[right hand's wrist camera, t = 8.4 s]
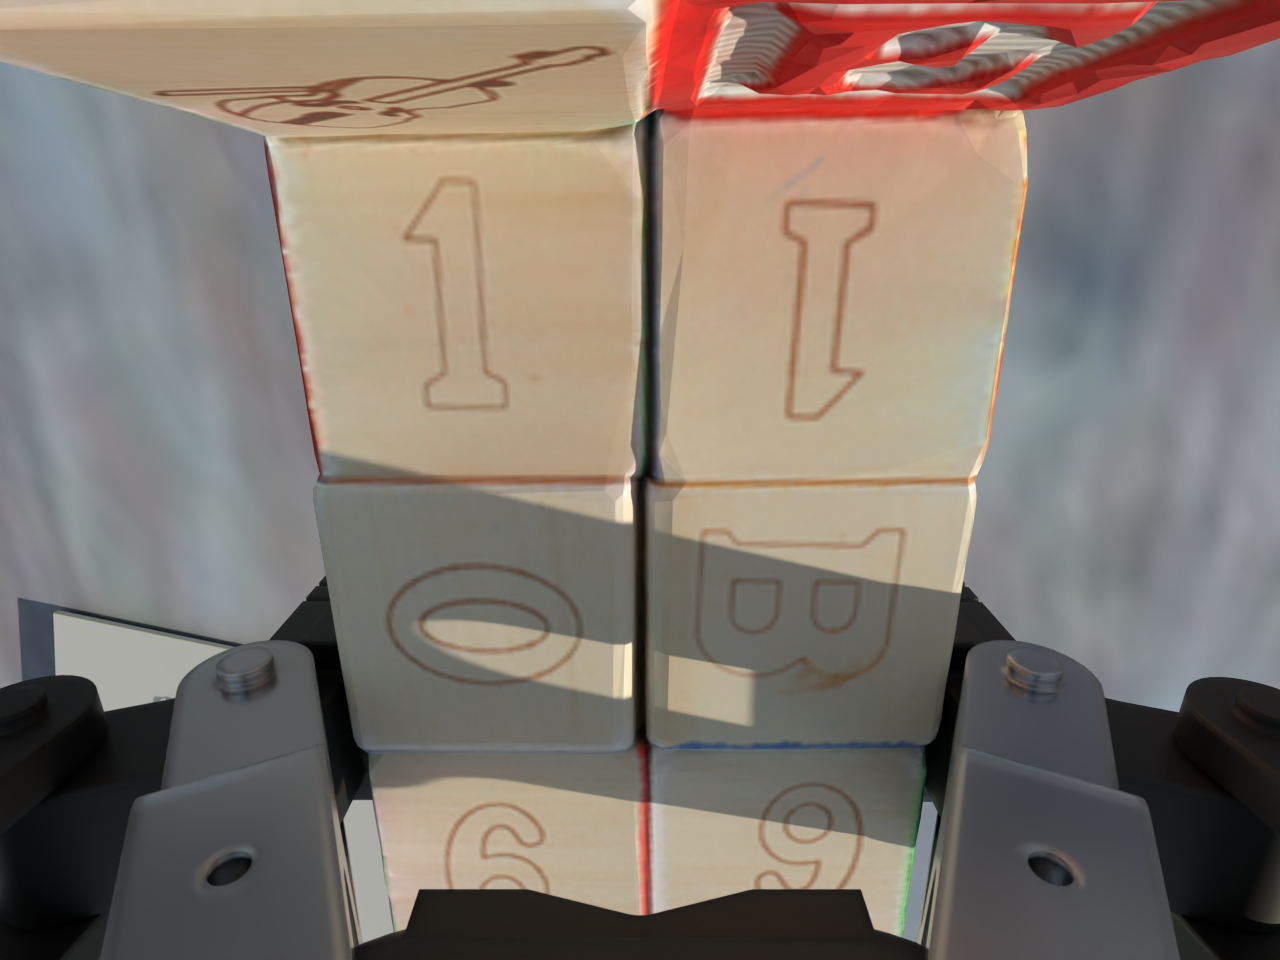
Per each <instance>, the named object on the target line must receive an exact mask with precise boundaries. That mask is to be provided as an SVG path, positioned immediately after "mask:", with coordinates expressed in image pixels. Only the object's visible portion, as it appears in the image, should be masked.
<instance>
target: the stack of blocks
mask: <svg viewBox="0 0 1280 960" xmlns="http://www.w3.org/2000/svg"><path fill="white" fill-rule="evenodd" d="M1279 38H1280V0H0V61H1V62H5V63H8V64H12V65H15V66H19V67H22V68H26V69H29V70H33V71H36V72H40V73H43V74H47V75H50V76H54V77H58V78H61V79H65V80H68V81H72V82H76V83H79V84H83V85H87V86H90V87H94V88H98V89H101V90H105V91H109V92H112V93H116V94H120V95H123V96H127V97H131V98H135V99H138V100H142V101H146V102H149V103H153V104H157V105H160V106H164V107H168V108H171V109H175V110H179V111H182V112H186V113H189V114H193V115H196V116H199V117H203V118H206V119H210V120H213V121H217V122H220V123H223V124H227V125H230V126H234V127H237V128H240V129H244V130H247V131H250V132H253V133H257V134H260V135H263V137H264V146H265V154H266V161H267V168H268V175H269V181H270V187H271V193H272V198H273V204H274V210H275V216H276V222H277V228H278V234H279V240H280V246H281V252H282V258H283V264H284V270H285V276H286V282H287V288H288V294H289V300H290V306H291V312H292V318H293V324H294V330H295V336H296V342H297V348H298V354H299V360H300V366H301V372H302V378H303V385H304V391H305V397H306V404H307V410H308V416H309V422H310V428H311V434H312V440H313V446H314V452H315V456H316V460H317V464H318V468H319V472H320V475H319V477H318V479H317V481H316V483H315V486H314V488H313V501H314V507H315V513H316V519H317V525H318V531H319V537H320V543H321V549H322V555H323V561H324V567H325V573H326V579H327V585H328V591H329V597H330V603H331V609H332V615H333V621H334V627H335V633H336V638H337V644H338V650H339V656H340V662H341V668H342V673H343V679H344V685H345V691H346V697H347V703H348V709H349V714H350V720H351V726H352V732H353V738H354V740H355V742H356V744H357V746H359V747H360V748H361V749H363V750H364V751H365V752H367V753H368V755H369V777H370V786H371V795H372V801H373V808H374V814H375V821H376V827H377V832H378V837H379V842H380V848H381V855H382V863H383V871H384V879H385V884H386V888H387V891H388V895H389V907H390V913H391V919H392V925H393V931H394V932H397V931H401V930H404V929H406V927H407V924H408V921H409V918H410V915H411V912H412V909H413V906H414V903H415V900H416V897H417V894H418V891H419V889H529V890H533V891H537V892H541V893H545V894H549V895H553V896H557V897H561V898H565V899H569V900H573V901H578V902H582V903H586V904H590V905H594V906H598V907H602V908H606V909H610V910H614V911H618V912H622V913H626V914H632V915H648V914H654V913H658V912H662V911H666V910H670V909H674V908H678V907H682V906H686V905H690V904H694V903H698V902H702V901H707V900H711V899H715V898H719V897H723V896H727V895H731V894H735V893H739V892H743V891H747V890H751V889H861V891H862V894H863V897H864V900H865V903H866V906H867V909H868V912H869V915H870V918H871V921H872V924H873V927H874V929H876V930H880V931H883V932H887V933H890V934H893V935H896V936H899V937H902V934H903V932H904V921H905V912H906V905H907V899H908V893H909V886H910V880H911V873H912V866H913V859H914V852H915V845H916V839H917V834H918V829H919V824H920V818H921V811H922V804H923V795H924V783H925V778H926V773H927V769H926V758H925V747H924V745H927V744H929V743H930V742H932V741H933V740H934V739H935V738H936V736H937V733H938V730H939V726H940V722H941V717H942V709H943V702H944V694H945V687H946V682H947V676H948V671H949V665H950V660H951V654H952V649H953V643H954V638H955V631H956V624H957V618H958V611H959V604H960V597H961V591H962V584H963V577H964V570H965V564H966V558H967V553H968V548H969V543H970V537H971V532H972V527H973V522H974V514H975V506H976V499H977V497H976V488H975V477H976V475H977V473H978V471H979V469H980V467H981V465H982V463H983V461H984V457H985V453H986V449H987V445H988V442H989V440H990V435H991V420H992V415H993V410H994V404H995V399H996V394H997V387H998V381H999V375H1000V369H1001V362H1002V356H1003V350H1004V344H1005V337H1006V329H1007V321H1008V313H1009V306H1010V298H1011V291H1012V284H1013V277H1014V270H1015V263H1016V257H1017V250H1018V243H1019V236H1020V230H1021V223H1022V217H1023V210H1024V204H1025V197H1026V191H1027V144H1026V127H1025V122H1024V116H1023V110H1030V109H1041V108H1049V107H1058V106H1062V105H1065V104H1068V103H1071V102H1074V101H1078V100H1081V99H1084V98H1087V97H1090V96H1093V95H1096V94H1099V93H1103V92H1106V91H1109V90H1112V89H1115V88H1118V87H1120V86H1122V85H1125V84H1127V83H1130V82H1132V81H1135V80H1138V79H1142V78H1146V77H1149V76H1153V75H1157V74H1160V73H1164V72H1168V71H1172V70H1175V69H1178V68H1181V67H1184V66H1187V65H1190V64H1193V63H1196V62H1199V61H1202V60H1208V59H1213V58H1218V57H1224V56H1229V55H1232V54H1235V53H1238V52H1241V51H1244V50H1247V49H1250V48H1252V47H1255V46H1258V45H1261V44H1264V43H1267V42H1270V41H1273V40H1276V39H1279Z"/></svg>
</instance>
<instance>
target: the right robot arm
mask: <svg viewBox="0 0 1280 960" xmlns="http://www.w3.org/2000/svg"><path fill="white" fill-rule="evenodd" d="M306 598H307V600H306V601H303V602H302V603H301V604H300V605H299V607H298V608H297V609H296V610H295V611H294V612H293V613H292V615H291V616H290V617H289V618H288V619H287V620H286V621H285V623H284V624H283V625H282V626H281V627H280V628H279V629H278V631H277V632H276V633H275V634H274V635H273V636H272V637H271V639H270V640H268V641H259V642H254V643H248V644H244V645H241V646H237V647H234V648H231V649H228V650H225V651H223V652H221V653H218V654H216V655H214V656H212V657H210V658H208V659H206V660H205V661H203V662H201V663H200V664H198V665H197V666H196V667H194V668H193V669H192V670H191V671H189V672H188V673H187V674H186V675H185V677H184V678H183V679H182V680H181V682H180V683H179V685H178V688H177V691H176V697H175V698H172V699H168V700H163V701H157V702H152V703H147V704H142V705H136V706H131V707H126V708H120V709H115V710H110V711H105V712H104V710H103V706H102V703H101V700H100V697H99V694H98V691H97V687H96V686H95V684H94V683H93V682H92V681H91V680H89V679H87V678H84V677H81V676H74V675H56V676H47V677H41V678H35V679H31V680H27V681H23V682H19V683H16V684H12V685H9V686H6V687H4V688H1V689H0V960H1280V690H1279V689H1277V688H1274V687H1271V686H1267V685H1264V684H1260V683H1256V682H1252V681H1248V680H1242V679H1236V678H1227V677H1209V678H1202V679H1199V680H1196V681H1194V682H1192V683H1191V684H1189V686H1188V688H1187V689H1186V692H1185V696H1184V699H1183V702H1182V705H1181V708H1180V711H1179V712H1174V711H1168V710H1163V709H1158V708H1152V707H1147V706H1142V705H1137V704H1131V703H1126V702H1121V701H1116V700H1112V699H1107V698H1105V697H1104V691H1103V688H1102V685H1101V683H1100V682H1099V680H1098V679H1097V678H1096V677H1095V676H1094V674H1093V673H1092V672H1091V671H1089V670H1088V669H1087V668H1086V667H1084V666H1083V665H1082V664H1080V663H1078V662H1077V661H1075V660H1074V659H1072V658H1070V657H1068V656H1066V655H1064V654H1062V653H1059V652H1057V651H1055V650H1052V649H1049V648H1046V647H1043V646H1039V645H1036V644H1032V643H1026V642H1021V641H1016V640H1015V639H1014V638H1013V637H1012V636H1011V635H1010V634H1009V632H1008V631H1007V630H1006V629H1005V628H1004V627H1003V626H1002V625H1001V623H1000V622H999V621H998V620H997V619H996V618H995V617H994V616H993V614H992V613H991V612H990V611H989V610H988V609H987V608H986V607H985V605H984V604H983V603H982V602H978V598H977V596H976V595H975V594H974V593H973V592H972V591H971V590H970V588H969V587H965V583H964V582H963V584H962V591H961V597H960V604H959V611H958V618H957V624H956V631H955V638H954V643H953V649H952V654H951V660H950V665H949V671H948V676H947V682H946V687H945V694H944V702H943V709H942V717H941V722H940V726H939V730H938V733H937V736H936V738H935V739H934V740H933V741H932V742H930V743H929V744H927V745H924V747H925V758H926V769H927V773H926V778H925V783H924V795H923V802H933V803H934V805H935V807H936V809H937V811H938V813H937V818H936V824H935V829H934V835H933V841H932V847H931V854H930V860H929V867H928V873H927V880H926V886H925V893H924V900H923V906H922V913H921V919H920V926H919V932H918V939H917V943H916V942H913V941H910V940H907V939H904V938H902V937H899V936H896V935H893V934H890V933H887V932H883V931H880V930H876V929H874V927H873V924H872V921H871V918H870V915H869V912H868V909H867V906H866V903H865V900H864V897H863V894H862V891H861V889H751V890H747V891H743V892H739V893H735V894H731V895H727V896H723V897H719V898H715V899H711V900H707V901H702V902H698V903H694V904H690V905H686V906H682V907H678V908H674V909H670V910H666V911H662V912H658V913H654V914H648V915H632V914H626V913H622V912H618V911H614V910H610V909H606V908H602V907H598V906H594V905H590V904H586V903H582V902H578V901H573V900H569V899H565V898H561V897H557V896H553V895H549V894H545V893H541V892H537V891H533V890H529V889H419V891H418V894H417V897H416V900H415V903H414V906H413V909H412V912H411V915H410V918H409V921H408V924H407V927H406V929H404V930H401V931H397V932H393V933H390V934H387V935H384V936H381V937H378V938H376V939H373V940H370V941H367V942H364V943H363V939H362V933H361V926H360V919H359V913H358V906H357V900H356V893H355V887H354V880H353V874H352V867H351V860H350V854H349V847H348V841H347V835H346V829H345V824H344V817H345V815H346V813H347V811H348V809H349V807H350V805H351V803H352V801H353V800H372V795H371V786H370V777H369V755H368V753H367V752H365V751H364V750H363V749H361V748H360V747H359V746H357V744H356V742H355V740H354V738H353V732H352V726H351V720H350V714H349V709H348V703H347V697H346V691H345V685H344V679H343V673H342V668H341V662H340V656H339V650H338V644H337V638H336V633H335V627H334V621H333V615H332V609H331V603H330V597H329V591H328V585H327V579H326V576H325V577H324V578H323V579H322V580H321V581H320V583H319V586H316V587H315V588H314V589H313V591H312V592H311V593H310V594H309V595H308V596H307V597H306Z"/></svg>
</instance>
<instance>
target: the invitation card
mask: <svg viewBox="0 0 1280 960" xmlns="http://www.w3.org/2000/svg"><path fill="white" fill-rule="evenodd" d="M53 618H54V645H55V671H56V675H74V676H81V677H84V678H87V679H89V680H91V681H92V682H93V683H94V684H95V686H96V687H97V691H98V694H99V697H100V700H101V703H102V706H103V710H104V712H105V711H110V710H115V709H120V708H126V707H131V706H136V705H142V704H147V703H152V702H157V701H163V700H168V699H172V698H175V697H176V691H177V688H178V685H179V683H180V682H181V680H182V679H183V678H184V677H185V675H186V674H187V673H188V672H189V671H191V670H192V669H193V668H194V667H196V666H197V665H198V664H200V663H201V662H203V661H205V660H206V659H208V658H210V657H212V656H214V655H216V654H218V653H221V652H223V651H225V650H228V649H231V648H234V647H233V646H228V645H223V644H218V643H214V642H209V641H204V640H199V639H194V638H190V637H185V636H180V635H175V634H170V633H166V632H161V631H156V630H151V629H146V628H142V627H137V626H132V625H127V624H122V623H117V622H113V621H108V620H103V619H98V618H93V617H89V616H84V615H79V614H74V613H69V612H65V611H60V610H57V611H56V612H54V613H53ZM344 824H345V829H346V835H347V841H348V847H349V854H350V860H351V867H352V874H353V880H354V887H355V893H356V900H357V906H358V913H359V919H360V926H361V933H362V939H363V943H364V942H367V941H370V940H373V939H376V938H378V937H381V936H384V935H387V934H390V933H393V932H394V931H393V925H392V919H391V913H390V907H389V895H388V891H387V888H386V884H385V879H384V871H383V863H382V855H381V848H380V842H379V837H378V832H377V827H376V821H375V814H374V808H373V801H372V800H353V801H352V803H351V805H350V807H349V809H348V811H347V813H346V815H345V817H344Z"/></svg>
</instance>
